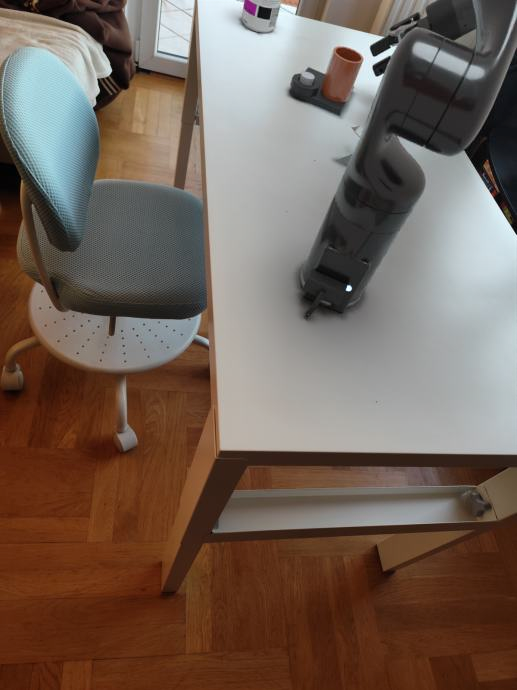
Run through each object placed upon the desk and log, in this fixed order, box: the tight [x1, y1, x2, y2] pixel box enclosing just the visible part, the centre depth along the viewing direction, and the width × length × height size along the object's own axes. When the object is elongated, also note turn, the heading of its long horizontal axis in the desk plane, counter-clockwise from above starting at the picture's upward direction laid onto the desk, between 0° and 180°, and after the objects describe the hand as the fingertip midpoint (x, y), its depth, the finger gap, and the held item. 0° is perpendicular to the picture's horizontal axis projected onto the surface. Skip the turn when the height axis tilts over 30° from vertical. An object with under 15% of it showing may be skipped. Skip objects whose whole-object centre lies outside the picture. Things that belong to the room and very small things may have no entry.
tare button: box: [299, 71, 315, 86], centre depth 98 cm, size 3×3×2 cm
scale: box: [289, 66, 355, 117], centre depth 102 cm, size 13×12×3 cm
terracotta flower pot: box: [321, 45, 364, 102], centre depth 98 cm, size 6×6×8 cm
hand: (372, 61), depth 96 cm, fingers open, 8 cm apart
